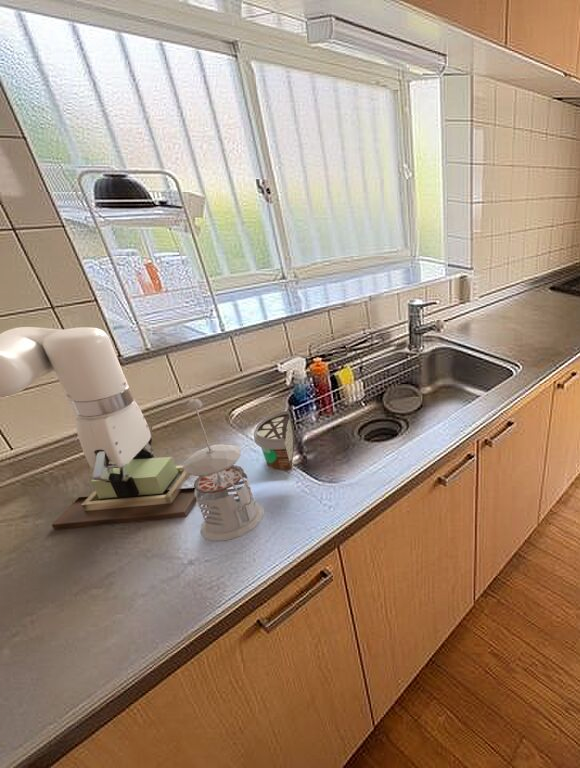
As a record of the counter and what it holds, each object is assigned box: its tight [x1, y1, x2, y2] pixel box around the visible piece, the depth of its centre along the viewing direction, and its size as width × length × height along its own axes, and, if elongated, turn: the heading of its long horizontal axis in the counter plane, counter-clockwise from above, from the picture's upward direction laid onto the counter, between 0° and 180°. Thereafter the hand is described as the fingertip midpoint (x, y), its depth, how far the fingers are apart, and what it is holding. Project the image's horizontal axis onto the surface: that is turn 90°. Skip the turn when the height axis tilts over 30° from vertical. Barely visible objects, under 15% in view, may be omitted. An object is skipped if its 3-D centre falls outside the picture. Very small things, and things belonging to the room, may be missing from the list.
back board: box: [51, 464, 197, 530], centre depth 80 cm, size 20×15×3 cm
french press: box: [183, 398, 265, 542], centre depth 70 cm, size 10×12×25 cm
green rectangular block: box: [90, 456, 179, 499], centre depth 78 cm, size 10×6×4 cm, turn 102°
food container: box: [253, 409, 296, 471], centre depth 88 cm, size 12×6×10 cm, turn 21°
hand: (139, 482), depth 79 cm, fingers closed on green rectangular block, 6 cm apart
